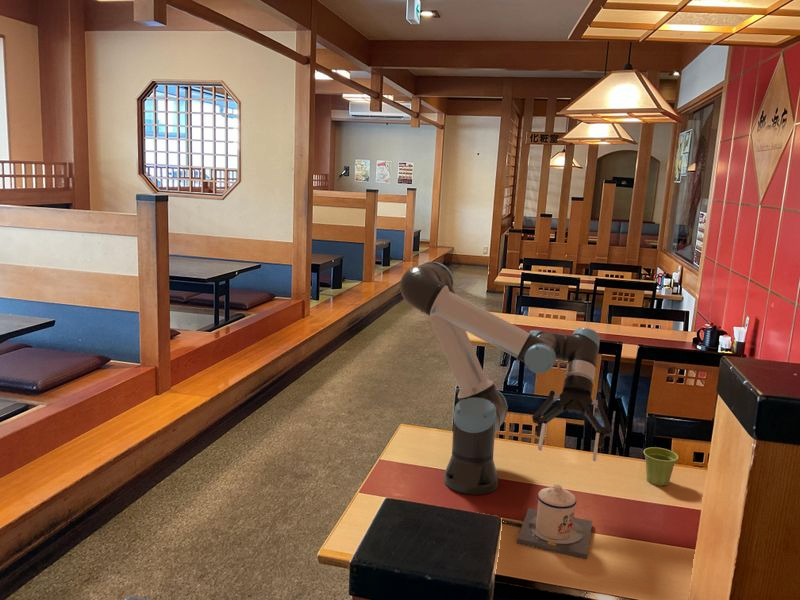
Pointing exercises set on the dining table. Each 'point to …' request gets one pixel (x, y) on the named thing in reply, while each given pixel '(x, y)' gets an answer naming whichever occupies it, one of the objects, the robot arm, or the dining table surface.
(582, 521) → the cup warmer plate
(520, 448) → the dining table surface
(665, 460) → the plant pot
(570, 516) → the teacup with lid
